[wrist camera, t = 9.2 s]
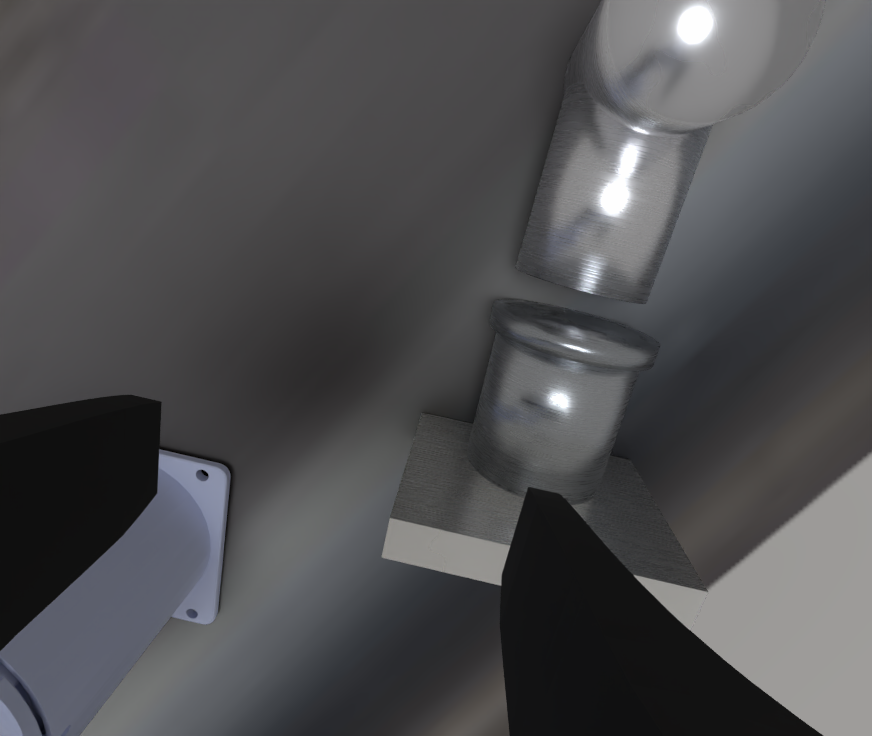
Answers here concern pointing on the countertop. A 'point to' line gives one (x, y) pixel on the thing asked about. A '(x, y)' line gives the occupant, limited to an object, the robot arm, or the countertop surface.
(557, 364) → the duct stub
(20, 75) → the countertop surface
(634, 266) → the elbow
